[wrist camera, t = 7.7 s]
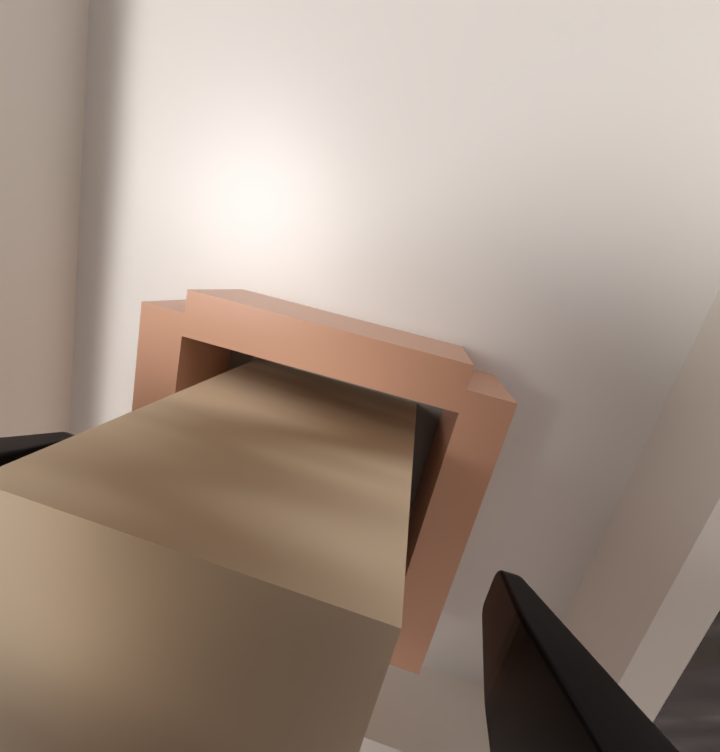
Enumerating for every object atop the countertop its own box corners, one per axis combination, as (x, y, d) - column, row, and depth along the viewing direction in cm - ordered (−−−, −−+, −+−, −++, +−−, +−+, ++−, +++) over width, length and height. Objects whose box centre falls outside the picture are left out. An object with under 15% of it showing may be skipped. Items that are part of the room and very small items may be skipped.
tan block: (416, 403, 10) (401, 628, 3) (374, 544, 11) (301, 920, 5) (258, 358, 11) (-30, 478, 4) (233, 498, 12) (-25, 779, 5)
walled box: (1053, -321, 6) (1578, -829, 3) (541, 718, 12) (577, 848, 10) (86, -390, 8) (-100, -761, 5) (51, 546, 14) (-44, 611, 11)
